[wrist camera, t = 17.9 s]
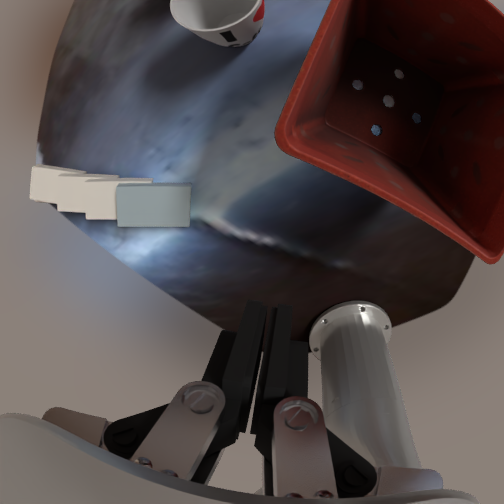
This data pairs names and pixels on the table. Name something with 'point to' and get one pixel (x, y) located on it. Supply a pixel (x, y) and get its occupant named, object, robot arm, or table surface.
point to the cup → (221, 19)
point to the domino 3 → (105, 196)
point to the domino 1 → (47, 182)
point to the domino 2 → (74, 190)
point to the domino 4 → (153, 204)
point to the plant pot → (409, 110)
